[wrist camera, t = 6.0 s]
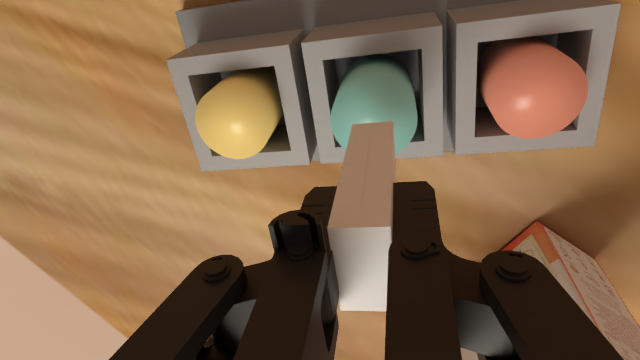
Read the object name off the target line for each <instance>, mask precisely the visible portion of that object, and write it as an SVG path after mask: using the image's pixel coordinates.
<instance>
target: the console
mask: <svg viewBox="0 0 640 360" xmlns="http://www.w3.org/2000/svg"><path fill="white" fill-rule="evenodd" d="M620 7H621V3H618V2H615V1H612V0H241V1H235V2H228V3H221V4H215V5H208V6H201V7H195V8H188V9H182V10H179V11H177V12H176V15H177V19H178V22H179V26H180V29H181V32H182V36H183V39H184V43H185V46H186V49H185V50H183V51H181V52H180V53H178V54H176V55H174V56H172V57H170V58H169V59H167V60H166V62H167V65H168V68H169V71H170V74H171V77H172V80H173V83H174V86H175V89H176V93H177V96H178V99H179V102H180V105H181V108H182V111H183V114H184V117H185V121H186V124H187V127H188V130H189V133H190V136H191V139H192V142H193V145H194V149H195V152H196V155H197V158H198V161H199V164H200V167H201V170H202V171H216V170H231V169H247V168H262V167H278V166H293V165H309V164H310V163H311V161H320V162H321V164H324V163H340V162H343V161H344V157H345V153H346V150H345V149H344V148H343V147H342V146H341V145H340V144H339V143H338V141H337V140H336V138H335V136H334V134H333V132H332V128H331V121H330V117H331V110H332V107H333V104H334V101H335V98H336V95H337V93H338V90H339V87H340V84H341V81H342V78H343V76H344V74H345V72H346V70H347V69H348V67H349V66H350V65H351V64H352V63H353V62H355V61H356V60H358V59H359V58H361V57H363V56H366V55H372V54H385V55H389V56H391V57H394V58H396V59H397V60H399V61H400V62H401V63H402V64H403V65H404V66H405V67H406V68H407V70H408V71H409V73H410V75H411V78H412V82H413V88H414V95H415V102H416V109H417V117H418V118H417V128H416V131H415V134H414V136H413V138H412V139H411V141H410V142H409V144H408V145H407V146H406V147H405V148H404V149H403V150H401V151H400V152H398V153H397V154H395V159H402V158H417V157H433V156H443V152H455V155H464V154H479V153H495V152H510V151H526V150H542V149H557V148H573V147H588V146H595V142H596V137H597V132H598V126H599V121H600V115H601V110H602V105H603V99H604V94H605V88H606V83H607V78H608V72H609V67H610V61H611V56H612V51H613V45H614V40H615V34H616V29H617V24H618V18H619V13H620ZM529 36H538V37H540V38H542V39H543V40H545V41H546V42H548V43H549V44H551V45H552V46H554V47H555V48H556V49H558V50H559V51H561V52H562V53H564V54H565V55H567V56H568V57H570V58H571V59H573V60H574V61H575V62H576V63H578V64H579V66H580V67H581V68H582V69H583V71H584V73H585V75H586V77H587V82H588V94H587V98H586V101H585V104H584V106H583V108H582V110H581V112H580V113H579V114H578V116H577V117H576V118H575V119H574V120H573V121H572V122H571V123H570V124H569V125H568V126H566V127H565V128H564V129H562V130H560V131H559V132H557V133H555V134H552V135H550V136H547V137H543V138H537V139H524V138H519V137H515V136H512V135H510V134H508V133H507V132H505V131H504V130H503V129H502V128H501V127H500V126H499V125H498V124H497V122H496V121H495V119H494V117H493V115H492V114H491V112H490V110H489V108H488V106H487V105H486V103H485V101H484V99H483V98H482V96H481V94H480V92H479V90H478V88H477V86H476V77H477V62H478V60H479V58H480V56H481V54H482V53H483V51H484V50H485V49H486V48H487V47H488V46H489V45H490V44H491V43H492V42H494V41H495V40H503V39H512V38H521V37H529ZM259 67H268V68H270V69H271V70H273V71H274V72H275V73H276V77H277V82H278V87H279V92H280V97H281V102H282V107H283V112H284V115H283V116H282V118H281V120H280V121H279V123H278V125H277V126H276V128H275V130H274V131H273V133H272V135H271V136H270V138H269V140H268V141H267V143H266V145H265V146H264V148H263V149H262V150H261V151H260V152H259V153H257V154H256V155H254V156H252V157H249V158H245V159H232V158H227V157H224V156H222V155H220V154H218V153H216V152H215V151H213V150H212V149H211V148H209V147H208V146H207V145H206V143H205V142H204V141H203V140H202V138H201V137H200V135H199V133H198V130H197V127H196V123H195V112H196V108H197V105H198V103H199V101H200V100H201V98H202V97H203V96H204V95H205V94H206V93H208V92H209V91H210V90H211V89H212V88H213V87H215V86H216V85H217V84H218V83H219V82H221V81H222V80H223V79H224V78H225V77H226V76H228V75H229V74H230V73H231V72H232V71H233V70H242V69H250V68H259Z"/></svg>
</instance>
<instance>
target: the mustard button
mask: <svg viewBox="0 0 640 360" xmlns="http://www.w3.org/2000/svg"><path fill="white" fill-rule="evenodd" d="M283 115H284V112H283V107H282V102H281V97H280V92H279V87H278V82H277V77H276V73H275V72H274V71H273V70H271V69H270V68H268V67H259V68H250V69H242V70H233V71H232V72H231V73H230V74H229V75H228V76H226V77H225V78H224V79H223V80H222V81H221V82H219V83H218V84H217V85H216V86H215V87H213V88H212V89H211V90H210V91H209V92H208V93H206V94H205V95H204V96H203V97H202V98H201V100H200V101H199V103H198V105H197V108H196V112H195V123H196V127H197V130H198V133H199V135H200V137H201V138H202V140H203V141H204V142H205V143H206V145H207V146H208V147H209V148H211V149H212V150H213V151H215V152H216V153H218V154H220V155H222V156H224V157H227V158H232V159H245V158H249V157H252V156H254V155H256V154H257V153H259V152H260V151H261V150H262V149H263V148H264V146H265V145H266V143H267V141H268V140H269V138H270V136H271V135H272V133H273V131H274V130H275V128H276V126H277V125H278V123H279V121H280V120H281V118H282V116H283Z"/></svg>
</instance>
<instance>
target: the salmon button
mask: <svg viewBox="0 0 640 360" xmlns="http://www.w3.org/2000/svg"><path fill="white" fill-rule="evenodd" d="M476 86H477V88H478V90H479V92H480V94H481V96H482V98H483V99H484V101H485V103H486V105H487V106H488V108H489V110H490V112H491V114H492V115H493V117H494V119H495V121H496V122H497V124H498V125H499V126H500V127H501V128H502V129H503V130H504V131H505V132H507V133H508V134H510V135H512V136H515V137H519V138H524V139H537V138H543V137H547V136H550V135H552V134H555V133H557V132H559V131H560V130H562V129H564V128H565V127H566V126H568V125H569V124H570V123H571V122H572V121H573V120H574V119H575V118H576V117H577V116H578V114H579V113H580V112H581V110H582V108H583V106H584V104H585V101H586V98H587V94H588V82H587V77H586V75H585V73H584V71H583V69H582V68H581V67H580V66H579V64H578V63H576V62H575V61H574V60H573V59H571V58H570V57H568V56H567V55H565V54H564V53H562V52H561V51H559V50H558V49H556V48H555V47H554V46H552V45H551V44H549V43H548V42H546V41H545V40H543V39H542V38H540V37H538V36H529V37H521V38H512V39H503V40H495V41H494V42H492V43H491V44H490V45H489V46H488V47H487V48H486V49H485V50H484V51H483V53H482V54H481V56H480V58H479V60H478V62H477V77H476Z"/></svg>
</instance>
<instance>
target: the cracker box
mask: <svg viewBox="0 0 640 360" xmlns="http://www.w3.org/2000/svg"><path fill="white" fill-rule="evenodd" d="M507 250H512V251H517V252H523V253H526V254H528V255H530V256H532V257H535V258H536V259H538V260H539V261H540V262H541V263H542V264H544V265H545V267H546V268H547V269H548V270H549V271H550V273H551V274H552V275H553V276H554V277H555V278H556V280H557V281H558V282H559V283H560V284H561V286H562V287H563V288H564V289H565V290H566V291H567V293H568V294H569V295H570V296H571V297H572V299H573V300H574V301H575V302H576V303H577V304H578V306H579V307H580V308H581V309H582V310H583V312H584V313H585V314H586V315H587V316H588V318H589V319H590V320H591V321H592V322H593V323H594V325H595V326H596V327H597V328H598V329H599V331H600V332H601V333H602V334H603V335H604V336H605V338H606V339H607V340H608V341H609V342H610V344H611V345H612V346H613V347H614V348H615V349H616V351H617V352H618V353H619V354H620V355H621V357H622V358H623V359H624V360H640V327H639V325H638V324H637V322H636V321H635V319H634V318H633V316H632V315H631V313H630V312H629V310H628V308H627V307H626V305H625V304H624V302H623V301H622V299H621V297H620V296H619V294H618V293H617V291H616V290H615V288H614V287H613V285H612V283H611V282H610V281H609V279H608V278H607V277H606V275H605V274H604V272H603V270H602V269H601V267H600V266H599V264H598V263H597V261H596V260H595V259H594V258H592V257H591V256H589V255H588V254H586V253H585V252H583V251H582V250H580V249H579V248H577V247H576V246H574V245H573V244H571V243H570V242H568V241H567V240H565V239H564V238H562V237H561V236H559V235H557V234H556V233H554V232H553V231H551V230H550V229H549V228H547V227H545V226H544V225H542V224H541V223H540V222H538V221H537V222H535V223H533V224H532V225H531V226H530V227H528V228H527V229H526V230H525V231H524V232H523V233H521V234H520V235H519V236H518V237H517V238H516V239H514V240H513V241H512V242H511V243H510V244H509V245H507V246H506V247H505V248H504V249H503V250H501V251H507ZM461 355H462V360H479V359H478V356H477V353H476V352H473V351H470V350H467V349H464V348H461Z"/></svg>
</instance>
